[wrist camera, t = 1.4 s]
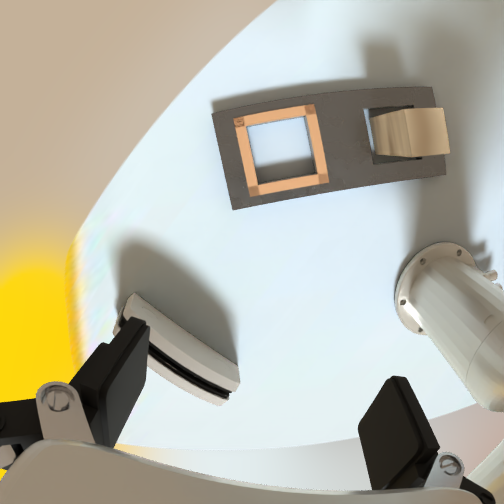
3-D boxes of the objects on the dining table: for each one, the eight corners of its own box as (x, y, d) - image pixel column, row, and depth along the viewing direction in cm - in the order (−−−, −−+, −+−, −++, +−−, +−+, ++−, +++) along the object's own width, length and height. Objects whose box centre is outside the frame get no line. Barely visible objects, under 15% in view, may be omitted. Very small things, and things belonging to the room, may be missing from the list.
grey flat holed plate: (425, 88, 28) (432, 86, 26) (439, 173, 31) (446, 174, 29) (213, 115, 30) (211, 113, 29) (234, 207, 33) (232, 210, 32)
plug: (401, 115, 29) (443, 107, 21) (407, 150, 31) (450, 153, 22) (369, 118, 30) (403, 108, 21) (375, 154, 31) (412, 157, 22)
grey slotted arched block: (115, 317, 38) (94, 340, 28) (135, 288, 38) (117, 304, 29) (217, 387, 41) (225, 425, 31) (237, 362, 41) (251, 396, 31)
